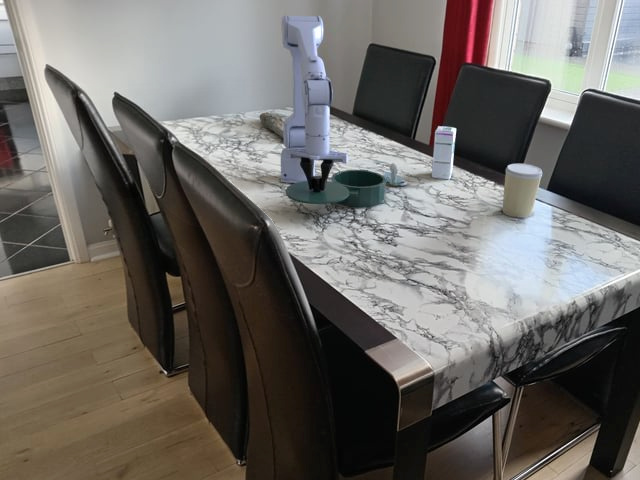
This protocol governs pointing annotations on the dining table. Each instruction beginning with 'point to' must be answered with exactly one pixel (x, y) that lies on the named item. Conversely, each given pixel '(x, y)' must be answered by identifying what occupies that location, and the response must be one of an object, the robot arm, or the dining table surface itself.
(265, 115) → the elongated rock
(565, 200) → the dining table surface
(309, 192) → the lid
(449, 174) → the syrup box
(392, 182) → the pacifier
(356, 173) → the pot
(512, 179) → the coffee cup
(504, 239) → the dining table surface
